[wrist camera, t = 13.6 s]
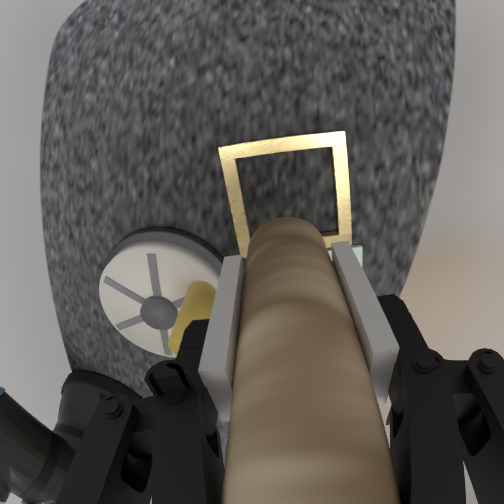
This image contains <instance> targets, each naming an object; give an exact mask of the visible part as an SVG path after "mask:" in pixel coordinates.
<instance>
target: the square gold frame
mask: <svg viewBox="0 0 504 504" xmlns="http://www.w3.org/2000/svg"><path fill="white" fill-rule="evenodd" d="M330 146H331V154H332V164H333V175H334V186H335V199H336V214H337V231H331V232H323V233H320V234H321V235H322V237H323V239H324V242H325V245H326V247H327V248H330V247H331V243H333V242H341V241H348V242H349V244H350V245H352V233H351V207H350V188H349V174H348V161H347V150H346V139H345V131H343V130H340V131H328V132H317V133H308V134H299V135H290V136H282V137H274V138H267V139H260V140H254V141H247V142H241V143H235V144H229V145H223V146H220V147H219V148H218V149H219V154H220V159H221V164H222V168H223V173H224V178H225V183H226V188H227V193H228V198H229V203H230V208H231V212H232V217H233V222H234V227H235V232H236V236H237V241H238V246H239V251H240V255H241V256H242V258H246V257H247V251H248V245H249V242H250V239H251V234H250V229H249V223H248V218H247V213H246V208H245V202H244V197H243V192H242V186H241V181H240V176H239V170H238V165H237V160H236V158H243V157H249V156H256V155H263V154H270V153H277V152H285V151H293V150H301V149H310V148H320V147H330Z"/></svg>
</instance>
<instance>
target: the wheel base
mask: <svg viewBox="0 0 504 504" xmlns="http://www.w3.org/2000/svg"><path fill="white" fill-rule="evenodd" d="M147 240H160V241H167V242H171V243H175V244H178V245H181V246H184V247H186V248H188V249H190V250H192V251H194V252H195V253H197V254H198V255H200V256H202V257H203V258H204V259H205V260H206V261H208V262H209V263H210V264H211V265H212V266H213V267H214V268H215V269H216V270H217V272H218V273H219V274H220V273H221V269H222V265H223V261H224V258H223V257H222V256H221V254H220V253H219V252H218V251H216V250H215V249H214V248H213V247H212V246H211V245H209V244H208V243H207V242H205V241H204V240H202V239H200V238H199V237H197V236H195V235H193V234H190V233H188V232H186V231H182V230H179V229H175V228H169V227H150V228H145V229H141V230H138V231H135V232H133V233H131V234H129V235H128V236H126V237H125V238H124V239H123V240H121V241H120V242H119V243H118V245H117V246H116V247H115V248H114V249H113V250H112V252H111V253H110V254H109V256H108V258H107V260H106V263H105V266H104V269H105V268H106V266H107V265H108V264H109V262H110V261H111V260H112V259H113V258H114V256H115V255H116V254H117V253H118V252H119V251H121V250H122V249H123V248H125V247H127V246H129V245H131V244H133V243H136V242H140V241H147ZM103 271H104V270H103Z"/></svg>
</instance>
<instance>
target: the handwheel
mask: <svg viewBox="0 0 504 504" xmlns="http://www.w3.org/2000/svg"><path fill="white" fill-rule="evenodd" d="M219 277H220V274H219V273H218V272H217V270H216V269H215V268H214V267H213V266H212V265H211V264H210V263H209V262H208V261H206V260H205V259H204V258H203V257H202V256H200V255H198V254H197V253H195V252H194V251H192V250H190V249H188V248H186V247H184V246H181V245H178V244H175V243H171V242H167V241H160V240H147V241H140V242H136V243H133V244H131V245H129V246H127V247H125V248H123V249H122V250H121V251H119V252H118V253H117V254H116V255H115V256H114V258H113V259H112V260H111V261H110V262H109V264H108V265H107V266H106V268H105V269H104V271H103V273H102V275H101V279H100V284H99V295H100V300H101V304H102V307H103V309H104V311H105V313H106V315H107V317H108V319H109V320H110V322H111V323H112V324H113V326H114V327H115V328H116V329H117V330H118V331H119V332H120V333H121V334H122V335H123V336H124V337H125V338H127V339H128V340H129V341H131V342H132V343H134V344H135V345H137V346H139V347H140V348H142V349H145V350H147V351H149V352H152V353H155V354H158V355H162V356H167V357H175V358H176V356H177V353H178V350H179V346H180V343H181V342H182V336H183V333H184V330H185V328H186V327H187V326H188V325H189V324H190V323H191V321H192V320H201V319H210V316H211V311H212V307H213V303H214V298H215V294H216V290H217V286H218V281H219Z"/></svg>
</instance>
